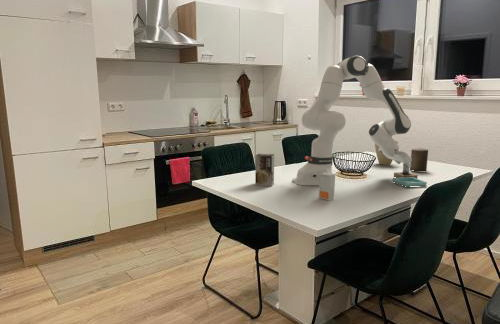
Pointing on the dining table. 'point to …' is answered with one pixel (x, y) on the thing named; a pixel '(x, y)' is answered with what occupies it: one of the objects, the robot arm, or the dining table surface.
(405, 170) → the metal peg
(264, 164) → the coffee box
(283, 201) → the dining table surface
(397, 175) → the walnut collar
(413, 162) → the pillar candle
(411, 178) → the teal tray
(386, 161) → the plant pot
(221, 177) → the dining table surface
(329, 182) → the skincare box
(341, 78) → the robot arm
